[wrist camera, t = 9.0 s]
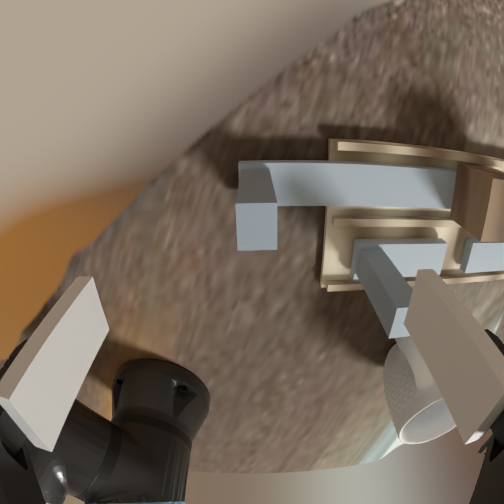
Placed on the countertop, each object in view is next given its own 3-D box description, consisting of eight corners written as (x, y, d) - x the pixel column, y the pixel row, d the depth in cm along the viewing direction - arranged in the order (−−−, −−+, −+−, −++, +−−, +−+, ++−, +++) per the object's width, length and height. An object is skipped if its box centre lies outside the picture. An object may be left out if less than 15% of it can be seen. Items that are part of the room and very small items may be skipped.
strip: (240, 202, 30) (233, 257, 20) (238, 160, 28) (230, 195, 18) (493, 207, 30) (554, 249, 19) (498, 175, 28) (564, 210, 18)
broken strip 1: (350, 272, 33) (383, 343, 23) (354, 238, 32) (394, 303, 21) (434, 269, 33) (483, 328, 23) (441, 238, 32) (498, 292, 21)
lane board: (319, 283, 35) (322, 292, 34) (328, 138, 28) (332, 140, 27) (523, 270, 35) (530, 276, 33) (547, 169, 28) (556, 173, 26)
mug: (351, 331, 39) (379, 411, 27) (425, 288, 36) (474, 358, 24) (384, 386, 44) (407, 453, 32) (444, 352, 41) (478, 414, 30)
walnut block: (449, 217, 29) (480, 241, 24) (457, 162, 26) (492, 178, 21) (487, 219, 29) (518, 241, 23) (496, 168, 26) (530, 184, 21)
